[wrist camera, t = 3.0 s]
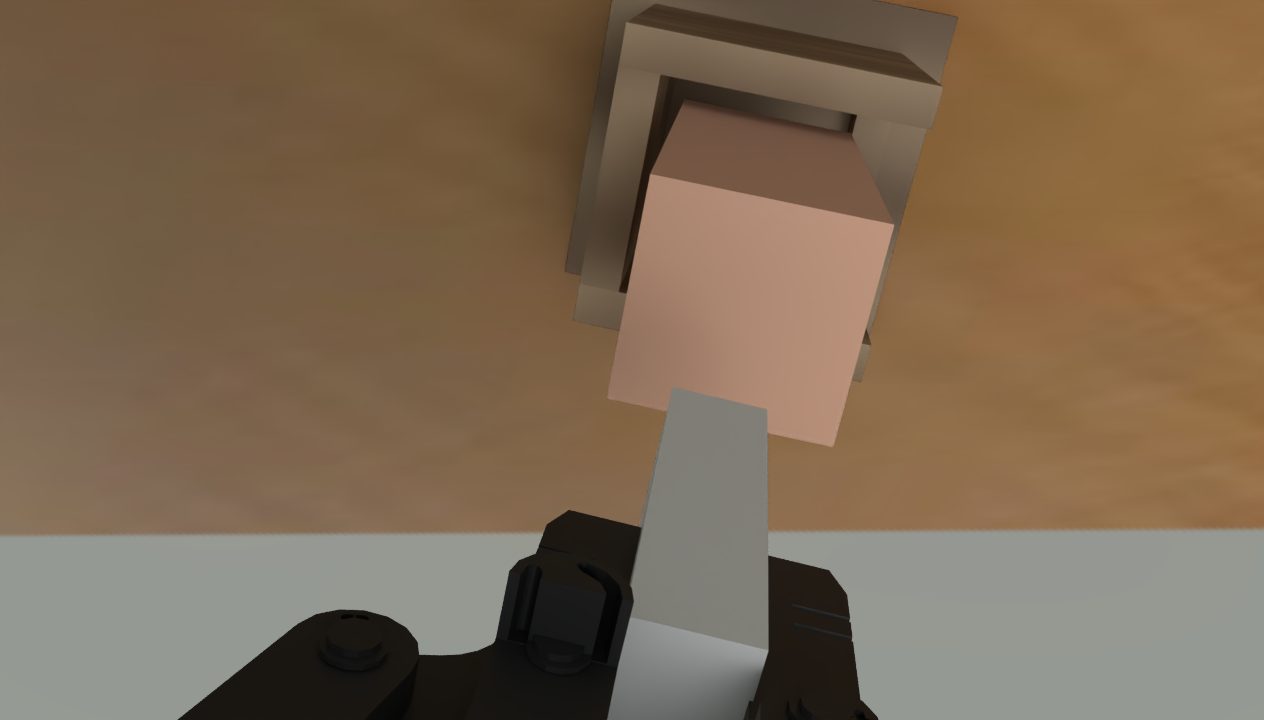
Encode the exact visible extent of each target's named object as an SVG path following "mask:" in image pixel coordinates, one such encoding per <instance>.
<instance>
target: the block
mask: <svg viewBox="0 0 1264 720" xmlns="http://www.w3.org/2000/svg"><path fill="white" fill-rule="evenodd" d="M893 228H894V223H893V221H892V218H891V216H890V214H889V212H888V210H887V208H886V206H885V204H884V201H883V199H882V197H881V195H880V193H879V191H878V189H877V187H876V185H875V182H874V180H873V178H872V176H871V174H870V172H869V170H868V168H867V165H866V163H865V161H864V159H863V157H862V155H861V153H860V151H859V149H858V146H857V144H856V142H855V140H854V138H853V136H852V134H851V133H847V132H842V131H837V130H832V129H827V128H822V127H818V126H813V125H808V124H803V123H798V122H793V121H788V120H784V119H779V118H774V117H769V116H764V115H759V114H754V113H750V112H745V111H740V110H735V109H730V108H725V107H720V106H715V105H711V104H706V103H701V102H696V101H691V100H686V99H685V100H684V102H683V104H682V106H681V108H680V110H679V113H678V115H677V117H676V119H675V121H674V123H673V126H672V128H671V130H670V132H669V134H668V136H667V139H666V141H665V143H664V145H663V147H662V150H661V152H660V154H659V156H658V158H657V160H656V163H655V165H654V167H653V169H652V171H651V173H650V178H649V183H648V188H647V193H646V198H645V203H644V209H643V214H642V219H641V224H640V229H639V234H638V239H637V245H636V250H635V255H634V260H633V265H632V270H631V275H630V280H629V286H628V291H627V296H626V301H625V306H624V311H623V316H622V321H621V327H620V332H619V337H618V342H617V347H616V352H615V357H614V363H613V368H612V373H611V378H610V383H609V388H608V393H607V398H606V399H611V400H616V401H620V402H625V403H630V404H634V405H639V406H644V407H648V408H653V409H658V410H662V411H667V409H668V405H669V401H670V397H671V392H672V388H673V387H676V388H680V389H684V390H688V391H692V392H697V393H701V394H705V395H709V396H713V397H717V398H722V399H726V400H730V401H734V402H738V403H743V404H747V405H751V406H755V407H759V408H763V409H767V433H770V434H774V435H779V436H784V437H788V438H793V439H798V440H802V441H807V442H812V443H816V444H821V445H826V446H830V447H833V446H834V442H835V439H836V435H837V431H838V428H839V424H840V421H841V417H842V413H843V410H844V406H845V402H846V399H847V395H848V392H849V388H850V384H851V381H852V377H853V373H854V370H855V366H856V363H857V359H858V355H859V352H860V348H861V344H862V341H863V337H864V333H865V330H866V326H867V323H868V319H869V315H870V312H871V308H872V304H873V301H874V297H875V294H876V290H877V286H878V283H879V279H880V275H881V272H882V268H883V265H884V261H885V257H886V254H887V250H888V246H889V243H890V239H891V236H892V232H893Z"/></svg>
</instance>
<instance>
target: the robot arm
mask: <svg viewBox="0 0 1264 720" xmlns="http://www.w3.org/2000/svg"><path fill="white" fill-rule="evenodd" d="M849 620H850V614H849V607H848V599H847V594H846V592H845V591H844V590H843V588H842V587H841V586H840V585H839V583H838V582H837V580H836V579H835V578H834V576H833V575H832V574H831V572H830V571H829V570H825V569H821V568H818V567H813V566H809V565H805V564H801V563H797V562H793V561H789V560H784V559H780V558H776V557H772V556H768V433H767V409H763V408H759V407H755V406H751V405H747V404H743V403H738V402H734V401H730V400H726V399H722V398H717V397H713V396H709V395H705V394H701V393H697V392H692V391H688V390H684V389H680V388H676V387H673V388H672V392H671V397H670V401H669V405H668V409H667V413H666V417H665V421H664V425H663V430H662V434H661V438H660V442H659V446H658V450H657V454H656V458H655V463H654V467H653V471H652V475H651V479H650V483H649V487H648V491H647V496H646V500H645V504H644V508H643V512H642V516H641V520H640V524H639V527H637V526H633V525H629V524H624V523H620V522H616V521H612V520H608V519H604V518H600V517H596V516H592V515H587V514H583V513H579V512H575V511H571V510H568V511H567V512H565V513H564V514H562V515H561V516H559V517H558V518H556V519H554V520H553V521H551V522H550V523H548V524H547V526H546V528H545V531H544V533H543V536H542V539H541V542H540V544H539V548H538V549H537V552H536V554H534V555H531V556H529V557H526V558H524V559H521V560H519V561H518V562H517V563H516V565H515V566H514V567H513V568H512V569H511V570H510V571H509V576H508V581H507V586H506V591H505V596H504V601H503V606H502V611H501V616H500V621H499V626H498V631H497V636H496V639H495V642H494V643H493V644H492V645H490V646H487V647H485V648H483V649H481V650H478V651H474V652H470V653H466V654H461V655H443V656H442V655H440V656H439V655H419V650H418V642H417V641H416V639H415V638H414V637H413V636H412V634H411V633H410V632H409V630H408V629H407V628H406V627H404V626H403V625H401V624H399V623H397V622H396V621H394V620H392V619H391V618H389V617H387V616H383V615H379V614H376V613H372V612H368V611H364V610H335V611H330V612H325V613H320V614H316V615H314V616H312V617H310V618H308V619H306V620H304V621H302V622H301V623H298V624H297V625H296V626H294V627H293V628H292V629H291V630H289V631H288V632H287V633H286V634H284V635H283V636H282V637H281V638H279V639H278V640H277V641H276V642H274V643H273V644H272V645H271V646H269V647H268V648H267V649H266V650H264V651H263V652H262V653H261V654H259V655H258V656H257V657H256V658H255V659H253V660H252V661H251V662H249V663H248V664H247V665H246V666H244V667H243V668H242V669H241V670H239V671H238V672H237V673H235V674H234V675H233V676H232V677H231V678H229V679H228V680H227V681H225V682H224V683H223V684H222V685H220V686H219V687H218V688H217V689H216V690H214V691H213V692H212V693H210V694H209V695H208V696H207V697H205V699H203V700H202V701H200V702H199V703H198V704H197V705H195V706H194V707H193V708H192V709H191V710H189V711H188V712H187V713H185V714H184V715H183V716H182V717H180V718H179V719H178V720H878V718H877V716H876V715H875V714H874V713H873V712H872V711H871V710H870V709H869V708H868V706H867V705H866V704H865V703H864V702H863V701H861V700H860V694H859V687H858V686H859V685H858V677H857V670H856V662H855V654H854V646H853V642H852V630H851V623H850V622H849Z"/></svg>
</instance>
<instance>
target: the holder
mask: <svg viewBox="0 0 1264 720" xmlns="http://www.w3.org/2000/svg"><path fill="white" fill-rule="evenodd" d="M957 19H958V17H954V16H949V15H944V14H939V13H934V12H929V11H924V10H919V9H915V8H910V7H905V6H900V5H895V4H890V3H885V2H880V1H875V0H612V4H611V10H610V16H609V22H608V27H607V33H606V39H605V45H604V50H603V56H602V62H601V68H600V74H599V79H598V85H597V91H596V97H595V102H594V108H593V114H592V120H591V125H590V131H589V137H588V143H587V148H586V154H585V160H584V166H583V171H582V177H581V183H580V189H579V195H578V200H577V206H576V212H575V218H574V223H573V229H572V235H571V241H570V246H569V252H568V258H567V264H566V269H565V272H568V273H572V274H577V275H581V278H580V284H579V290H578V295H577V301H576V306H575V312H574V318H573V321H575V322H580V323H584V324H589V325H594V326H598V327H603V328H608V329H613V330H617V331H620V327H621V321H622V316H623V311H624V306H625V301H626V296H627V291H628V286H629V280H630V275H631V270H632V265H633V260H634V255H635V250H636V245H637V239H638V234H639V229H640V224H641V219H642V214H643V209H644V203H645V198H646V193H647V188H648V183H649V178H650V173H651V171H652V169H653V167H654V165H655V163H656V160H657V158H658V156H659V154H660V152H661V150H662V147H663V145H664V143H665V141H666V139H667V136H668V134H669V132H670V130H671V128H672V126H673V123H674V121H675V119H676V117H677V115H678V113H679V110H680V108H681V106H682V104H683V102H684V100H685V99H686V100H691V101H696V102H701V103H706V104H711V105H715V106H720V107H725V108H730V109H735V110H740V111H745V112H750V113H754V114H759V115H764V116H769V117H774V118H779V119H784V120H788V121H793V122H798V123H803V124H808V125H813V126H818V127H822V128H827V129H832V130H837V131H842V132H847V133H851V134H852V136H853V138H854V140H855V142H856V144H857V146H858V149H859V151H860V153H861V155H862V157H863V159H864V161H865V163H866V165H867V168H868V170H869V172H870V174H871V176H872V178H873V180H874V182H875V185H876V187H877V189H878V191H879V193H880V195H881V197H882V199H883V201H884V204H885V206H886V208H887V210H888V212H889V214H890V216H891V218H892V221H893V223H894V228H893V232H892V236H891V239H890V243H889V246H888V250H887V254H886V257H885V261H884V265H883V268H882V272H881V275H880V279H879V283H878V286H877V290H876V294H875V297H874V301H873V304H872V308H871V312H870V315H869V319H868V323H867V326H866V330H865V333H864V337H863V341H862V344H861V348H860V352H859V355H858V359H857V363H856V366H855V370H854V373H853V377H852V380H853V381H857V382H861V381H862V377H863V374H864V370H865V366H866V363H867V359H868V356H869V352H870V349H871V343H870V339H869V336H870V333H871V329H872V326H873V322H874V318H875V315H876V311H877V308H878V304H879V300H880V297H881V293H882V290H883V286H884V282H885V279H886V275H887V272H888V268H889V264H890V261H891V257H892V253H893V250H894V246H895V243H896V239H897V235H898V232H899V228H900V225H901V221H902V217H903V214H904V210H905V207H906V203H907V199H908V196H909V192H910V189H911V185H912V181H913V178H914V174H915V171H916V167H917V163H918V160H919V156H920V153H921V149H922V145H923V142H924V138H925V135H926V131H927V129H929V130H932V126H933V123H934V119H935V116H936V112H937V108H938V105H939V101H940V98H941V94H942V90H943V86H942V85H940V81H941V77H942V73H943V70H944V66H945V63H946V59H947V55H948V52H949V48H950V45H951V41H952V37H953V34H954V30H955V26H956V23H957Z"/></svg>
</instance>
